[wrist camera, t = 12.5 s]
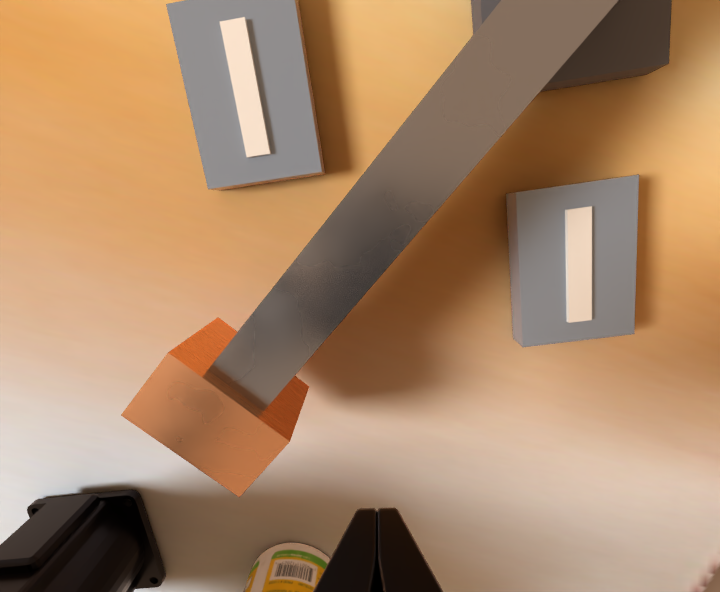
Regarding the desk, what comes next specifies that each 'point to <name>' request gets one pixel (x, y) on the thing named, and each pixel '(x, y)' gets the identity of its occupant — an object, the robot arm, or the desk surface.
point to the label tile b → (573, 261)
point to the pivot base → (610, 43)
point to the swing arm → (353, 249)
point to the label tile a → (248, 90)
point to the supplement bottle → (287, 569)
